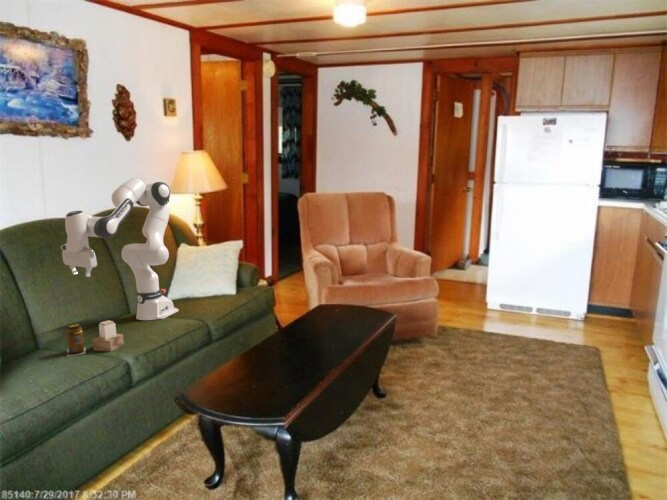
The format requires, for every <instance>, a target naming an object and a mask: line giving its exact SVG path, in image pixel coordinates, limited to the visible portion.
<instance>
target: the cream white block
mask: <svg viewBox="0 0 667 500" xmlns="http://www.w3.org/2000/svg"><path fill="white" fill-rule="evenodd" d="M98 330H99V336H100V337H101V338H103V339H110V338H113V337H117V335H116V334H117V328H116V323H115V322H114V321H113V320H105V321H101V322H99V323H98Z"/></svg>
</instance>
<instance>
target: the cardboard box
mask: <svg viewBox="0 0 667 500" xmlns="http://www.w3.org/2000/svg"><path fill="white" fill-rule="evenodd" d="M116 335H117V337H113V338H110V339H103V338H101V337H100V335H99V336H97V337H95V338H93V339H91V341H92V350H93V351H98V352H99V351H100V352H101V351H102V352H110V353H111V352H113V351H114V350H117V349H118V348H120V347H122V346H123V345H125V341H124V340H125V339H124V334H123V333H116Z"/></svg>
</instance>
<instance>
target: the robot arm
mask: <svg viewBox="0 0 667 500" xmlns="http://www.w3.org/2000/svg"><path fill="white" fill-rule="evenodd" d="M170 197H171V189H170V187H169V185H168V184H167V183H165V182H163V181H156V182H153V183H147V184H145V183H144V181H142V180H141V179H140V178H135V177H133V178H130V179H129V180H127V181H125V182H123V183H122V184H121V185H119V186H118V187H117V188H116V189H115V190H114V191H113V193H112V194H111V201H112V204H113V206H114V207H115V209H114V210H113V211H112V213H111V214H109V215H107V216H93V215H90V214H88V213H85V212H84V211H83V210H73V211H70V212H68V213H67V214H66V215H65V220H64V221H65V222H64V223H65V224H64V225H65V233H66V236H67V238H66V243H64V244H62V245H61V246H60V249H61V250H62V251H61V257H62V260H63V264H64V265H66V266H69V268H70V271H71V272H72V275H73V276H75V275H78V273H79V272H78V270H77V268H76V267H80V268H85V270H86V271H85V272H84V276H85V278H89V277H91V272H92V269H94V268H97V266H98V260H97V256H96V253H95V250H93V249H92V248H91V247H90V244H89V237H92V238H101V239H107V240H108V239H111V238H113V237H114V236H115V235H116V233H117V232H118V229H119V227H120V226H121V224H123V222H124V221H125V219H126V218H127V217H128V216H129V214H130V213H131V212H132V211H133V209H134V205H136V204H137V205H138V206H140V207H148V213H147V215H146V217H145V218H146V219H145V221H144V224H143V227H142V230H141V232H142V234H143V236H144V237H145V238H146V241H145V243H136V242H134V243H129V244H125V245H124V246H122V247H123V248H122V249H121V258H122V260H123V261H124V262H125V263H126V264H127V265H128V266H129V268H130V269H131V270H132V272H133V274H134V278H135V284H136V285H135V286H136V292H135V295H136V301H137V310H136V316H135V318H136V320H138V321H139V320H140V321H153V320H164V319H166V318H168V317H169V316H171V315H174V314H175V313H178V312H179V309H178V308H177V307H175V306H174V303H173V300H171V299H170V298H168V297H167V296H165V295H164V294H165V293H166V292H167V290H166V288H160V282H159V276H158V274H157V273H156V272H155V271H154V270H153V269H152V268H151V266H159V265H161V266H162V265H164V264H166V263H167V262H168V261H169V258H170V257H169V256H170V252H169V249H168V248H167V247H166V246H165V244H164V237H165V232H166V229H167V226H168V222H169V219H170V214H171V208H170V206H169V205H167V204H168V203H169V202H170Z"/></svg>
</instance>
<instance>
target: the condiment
mask: <svg viewBox="0 0 667 500" xmlns="http://www.w3.org/2000/svg"><path fill="white" fill-rule="evenodd" d="M66 329H67V333H66V337H67V345H68V346H67V347H68V349H67V350H66V357H74V356H80V355H85V354H86V353H87V352H86V351H87V350H86V347H85V343H84V336H83V334H84V333H83V330H82V325H81V324H80V323H72V324H68V325H67V327H66Z"/></svg>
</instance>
